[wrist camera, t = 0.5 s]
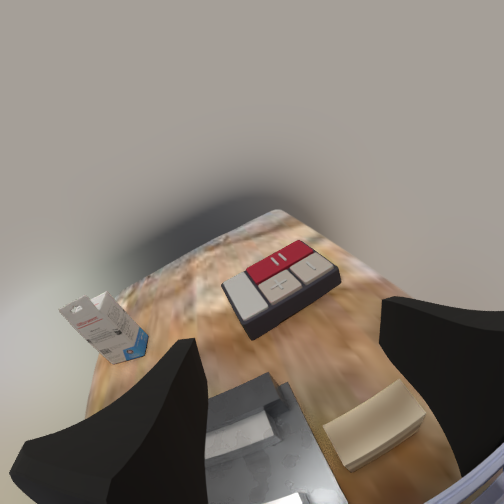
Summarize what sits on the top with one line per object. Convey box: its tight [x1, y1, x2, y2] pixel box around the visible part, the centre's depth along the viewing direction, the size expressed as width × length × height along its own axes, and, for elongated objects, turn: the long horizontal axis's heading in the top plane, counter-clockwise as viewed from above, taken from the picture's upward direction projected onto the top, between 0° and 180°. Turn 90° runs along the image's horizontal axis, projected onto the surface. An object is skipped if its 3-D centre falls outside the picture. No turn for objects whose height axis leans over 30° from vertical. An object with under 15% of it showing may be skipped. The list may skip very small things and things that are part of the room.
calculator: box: [221, 240, 341, 340], centre depth 40 cm, size 11×4×15 cm
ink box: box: [59, 291, 148, 364], centre depth 40 cm, size 8×5×15 cm, turn 97°
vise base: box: [205, 372, 348, 504], centre depth 18 cm, size 19×22×4 cm
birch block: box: [323, 379, 426, 473], centre depth 17 cm, size 4×7×6 cm, turn 107°
